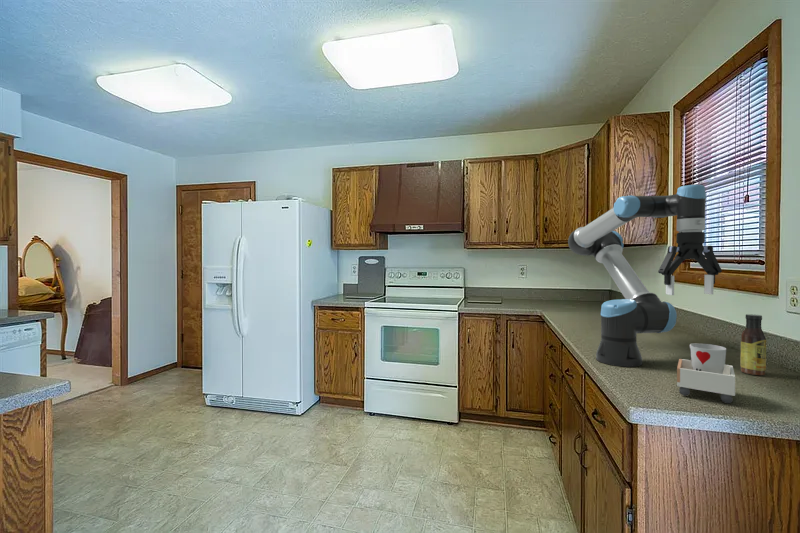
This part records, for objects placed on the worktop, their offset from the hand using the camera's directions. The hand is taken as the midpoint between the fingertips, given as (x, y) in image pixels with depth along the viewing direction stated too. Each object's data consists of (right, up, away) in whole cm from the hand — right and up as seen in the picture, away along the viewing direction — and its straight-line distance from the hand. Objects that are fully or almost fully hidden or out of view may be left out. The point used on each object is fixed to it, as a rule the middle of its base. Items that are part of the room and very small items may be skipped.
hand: (689, 294), depth 125 cm
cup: (-9, -24, -18) cm, 31 cm away
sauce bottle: (+21, -27, -1) cm, 34 cm away
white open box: (-10, -28, -18) cm, 34 cm away
